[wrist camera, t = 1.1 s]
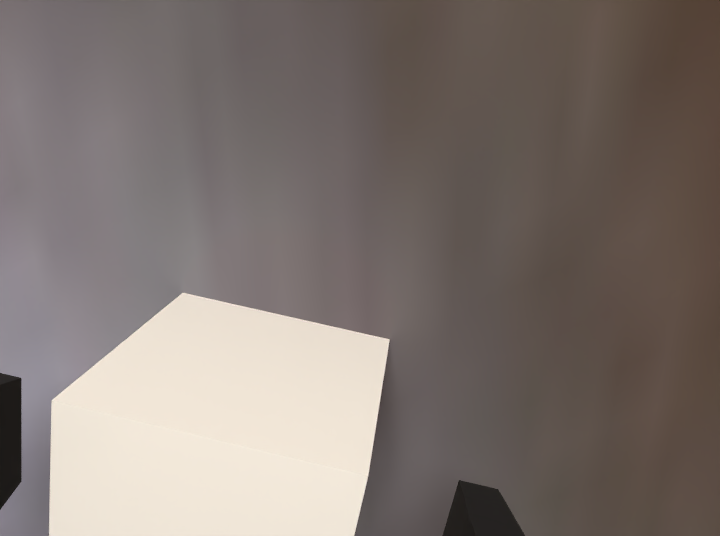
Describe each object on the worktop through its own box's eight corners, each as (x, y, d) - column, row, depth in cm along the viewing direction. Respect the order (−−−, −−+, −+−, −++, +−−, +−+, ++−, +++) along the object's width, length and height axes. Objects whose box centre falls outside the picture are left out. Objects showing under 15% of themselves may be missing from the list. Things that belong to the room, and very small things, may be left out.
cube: (390, 338, 11) (367, 475, 7) (350, 508, 12) (314, 705, 8) (184, 291, 11) (52, 400, 7) (167, 464, 12) (47, 636, 8)
